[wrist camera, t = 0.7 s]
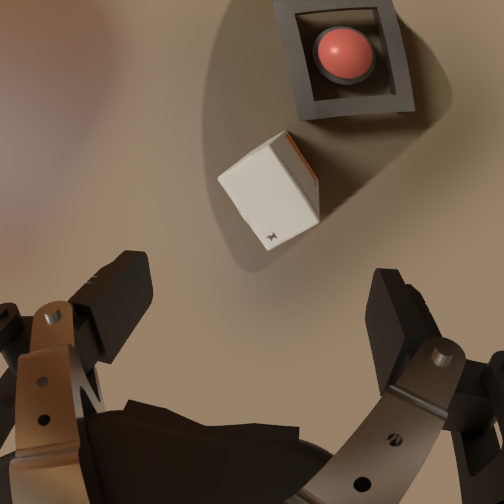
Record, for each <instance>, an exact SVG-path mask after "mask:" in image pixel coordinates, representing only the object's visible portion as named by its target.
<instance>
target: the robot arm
mask: <svg viewBox="0 0 504 504" xmlns="http://www.w3.org/2000/svg"><path fill="white" fill-rule="evenodd" d="M152 298H153V286H152V281H151V275H150V269H149V263H148V257H147V254H146V253H145V252H141V251H130V250H126V251H124V252H123V253H121V254H120V255H119V256H118V257H117V258H116V259H115V260H114V261H113V262H112V263H110V264H108V265H106V266H104V267H102V268H101V269H100V270H99V271H98V272H97V273H96V274H94V276H93V277H91V278H90V279H89V280H88V281H87V283H86V284H84V285H83V286H82V287H81V288H80V289H79V290H78V291H77V292H76V293H75V294H74V295H73V296H72V297H71V298H70V299H69V300H68V301H67V302H66V301H54V302H50V303H48V304H46V305H44V306H42V307H41V308H39V309H38V310H37V311H36V313H35V314H34V316H21V315H20V312H19V310H18V307H17V306H16V304H14V303H3V304H0V352H1V353H2V355H3V357H4V359H5V360H6V362H7V364H8V365H9V368H8V369H7V370H6V371H5V373H4V374H3V375H2V377H1V378H0V449H1V447H2V445H3V443H4V442H5V440H6V438H7V437H8V435H9V433H10V431H11V430H12V428H13V426H14V425H15V439H16V451H14V452H11V453H9V454H7V455H4V456H2V457H0V504H399V502H400V501H401V499H402V498H403V496H404V495H405V493H406V492H407V490H408V489H409V487H410V485H411V484H412V482H413V480H414V479H415V477H416V476H417V474H418V472H419V471H420V469H421V467H422V465H423V464H424V462H425V460H426V458H427V457H428V455H429V453H430V451H431V449H432V447H433V445H434V443H435V441H436V439H437V438H438V435H439V433H440V431H441V429H442V430H448V431H451V435H452V440H453V445H454V451H455V456H456V461H457V467H458V474H459V481H460V489H461V497H462V504H504V351H498V352H496V353H494V354H493V355H492V357H491V359H490V361H489V363H488V364H486V363H481V362H476V361H472V360H468V359H466V356H465V353H464V351H463V350H462V348H461V347H460V346H459V345H458V344H457V343H455V342H454V341H452V340H450V339H447V338H444V337H442V335H441V333H440V331H439V329H438V327H437V325H436V323H435V321H434V319H433V317H432V315H431V313H429V309H428V307H427V305H426V304H425V301H424V299H423V297H422V295H421V293H420V292H419V291H417V290H416V289H415V288H414V287H413V286H412V285H411V284H405V283H404V281H403V279H402V277H401V275H400V273H399V271H398V270H397V269H382V268H376V270H375V272H374V275H373V280H372V284H371V289H370V293H369V298H368V302H367V306H366V313H365V322H366V327H367V332H368V336H369V341H370V346H371V350H372V355H373V360H374V365H375V369H376V375H377V380H378V385H379V391H380V396H382V398H381V399H380V400H379V402H378V403H377V404H376V405H375V407H374V408H373V409H372V411H371V412H370V413H369V415H368V416H367V417H366V418H365V420H364V421H363V422H362V423H361V425H360V426H359V427H358V428H357V429H356V431H355V432H354V433H353V434H352V435H351V437H350V438H349V439H348V440H347V441H346V442H345V444H344V445H343V446H342V447H341V448H340V449H339V451H337V453H336V454H335V455H333V454H331V453H330V452H328V451H327V450H325V449H323V448H321V447H319V446H317V445H315V444H312V443H310V442H307V441H303V440H300V439H299V427H293V426H279V425H267V424H257V423H251V424H239V425H224V426H204V425H202V424H199V423H197V422H194V421H192V420H190V419H188V418H185V417H183V416H181V415H179V414H177V413H174V412H172V411H170V410H168V409H166V408H161V407H157V406H153V405H149V404H145V403H141V402H137V401H133V400H128V402H127V404H126V406H125V408H124V410H116V411H115V410H114V411H106V410H105V407H104V402H103V398H102V393H101V388H100V383H99V378H98V373H97V370H96V367H95V364H96V363H97V361H100V362H104V363H108V364H111V363H112V362H113V360H114V359H115V357H116V356H117V354H118V353H119V351H120V349H121V348H122V346H123V345H124V343H125V342H126V340H127V339H128V337H129V336H130V334H131V333H132V331H133V330H134V328H135V327H136V325H137V324H138V322H139V321H140V319H141V318H142V316H143V315H144V313H145V312H146V311H147V309H148V308H149V306H150V304H151V302H152ZM496 421H497V422H498V425H499V428H500V431H501V435H502V439H503V444H502V449H500V445H499V442H498V438H497V435H496V431H495V428H494V424H495V423H496Z"/></svg>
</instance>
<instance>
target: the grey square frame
mask: <svg viewBox="0 0 504 504" xmlns="http://www.w3.org/2000/svg"><path fill="white" fill-rule="evenodd" d="M272 3H273V6H274V10H275V14H276V18H277V22H278V26H279V30H280V34H281V38H282V42H283V46H284V51H285V55H286V59H287V64H288V68H289V73H290V78H291V82H292V87H293V92H294V97H295V102H296V107H297V112H298V117H299V121H306V120H313V119H321V118H330V117H339V116H349V115H360V114H372V113H388V112H409V111H415V105H414V98H413V92H412V86H411V80H410V74H409V69H408V63H407V58H406V54H405V49H404V45H403V40H402V36H401V32H400V28H399V24H398V20H397V16H396V13H395V9H394V6H393V2H392V0H280V1H274V2H272ZM364 9H372V11H373V15H374V18H375V22H376V26H377V30H378V34H379V38H380V42H381V47H382V51H383V56H384V60H385V65H386V70H387V76H388V81H389V87H390V93H391V95H377V96H363V97H351V98H340V99H331V100H322V101H314V99H313V93H312V88H311V83H310V79H309V74H308V69H307V65H306V60H305V56H304V51H303V47H302V43H301V39H300V34H299V30H298V26H297V22H296V18H295V16H298V15H305V14H313V13H322V12H332V11H345V10H364Z"/></svg>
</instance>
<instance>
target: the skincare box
mask: <svg viewBox="0 0 504 504" xmlns="http://www.w3.org/2000/svg"><path fill="white" fill-rule="evenodd" d="M218 181H219V182H220V184H221V185H222V187H223V188H224V190H225V191H226V192H227V194H228V195H229V197H230V198H231V199H232V201H233V202H234V204H235V205H236V207H237V209H238V211H239V212H240V214H241V215H242V217H243V218H244V220H245V221H246V222H247V223H248V224H249V226H250V227H251V228H252V230H253V231H254V233H255V234H256V235H257V237H258V238H259V239H260V241H261V242H262V244H263V245H264V247H265V248H266V249H267V250H268V251H270V250H272V249H274V248H275V247H277V246H279V245H281V244H282V243H284V242H286V241H288V240H290V239H291V238H293V237H295V236H297V235H298V234H300V233H302V232H304V231H306V230H307V229H309V228H311V227H313V226H315V225H316V224H318V223H319V222H320V215H319V185H318V178H317V176H316V175H315V173H314V172H313V170H312V169H311V167H310V166H309V164H308V163H307V161H306V160H305V158H304V157H303V155H302V154H301V152H300V150H299V149H298V147H297V146H296V144H295V143H294V141H293V139H292V138H291V136H290V135H289V133H288V132H287V130H285V131H283V132H281V133H280V134H278V135H276V136H274V137H273V138H271V139H270V140H268V141H266V142H265V143H263V144H262V145H260V146H258V147H257V148H255V149H254V150H252V151H251V152H250V153H248V154H247V155H246V156H245V157H243V158H242V159H241V160H240V161H238V162H237V163H236V164H234V165H233V166H232V167H231V168H229V169H228V170H227V171H225V172H224V173H223V174H221V175H220V176H219V177H218Z"/></svg>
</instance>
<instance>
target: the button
mask: <svg viewBox="0 0 504 504" xmlns="http://www.w3.org/2000/svg"><path fill="white" fill-rule="evenodd" d="M312 51H313V60H314V63H315V65H316V67H317V69H318V70H319V71H320V73H321V74H322V75H323V76H325V77H326V78H327V79H329V80H331V81H333V82H335V83H338V84H344V85H351V84H356V83H359V82H361V81H363V80H365V79H366V78H367V77H368V76H369V75H370V74H371V73H372V71H373V69H374V67H375V63H376V54H375V50H374V47H373V45H372V43H371V42H370V40H369V39H368V38H367V37H366V36H365V35H364V34H362V33H361V32H359V31H358V30H356V29H353V28H350V27H345V26H337V27H332V28H329V29H327V30H325V31H323V32H322V33H321V34H320V35H319V36H318V37H317V39H316V40H315V42H314V45H313V50H312Z"/></svg>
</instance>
